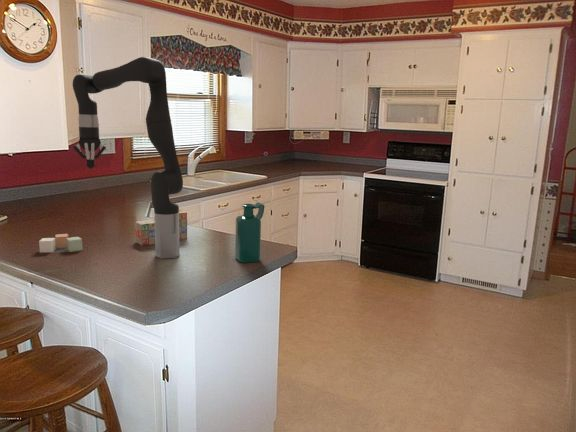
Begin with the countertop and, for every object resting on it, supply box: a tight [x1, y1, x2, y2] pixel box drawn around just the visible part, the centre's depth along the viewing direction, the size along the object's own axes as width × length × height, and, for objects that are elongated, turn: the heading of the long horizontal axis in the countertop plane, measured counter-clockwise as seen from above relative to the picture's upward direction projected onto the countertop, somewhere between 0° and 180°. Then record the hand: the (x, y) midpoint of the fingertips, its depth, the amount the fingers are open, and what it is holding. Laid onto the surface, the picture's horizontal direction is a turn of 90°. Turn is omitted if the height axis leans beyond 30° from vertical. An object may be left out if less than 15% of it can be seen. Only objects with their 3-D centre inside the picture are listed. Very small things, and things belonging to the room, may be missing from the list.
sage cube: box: [66, 236, 83, 253], centre depth 186 cm, size 4×4×4 cm
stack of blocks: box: [134, 209, 188, 246], centre depth 206 cm, size 21×6×12 cm, turn 131°
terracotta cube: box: [54, 233, 70, 248], centre depth 190 cm, size 4×4×4 cm
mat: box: [38, 243, 84, 254], centre depth 187 cm, size 11×15×1 cm
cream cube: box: [38, 237, 56, 252], centre depth 183 cm, size 4×4×4 cm
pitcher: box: [234, 202, 265, 264], centre depth 182 cm, size 10×8×22 cm
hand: (91, 168), depth 196 cm, fingers closed
